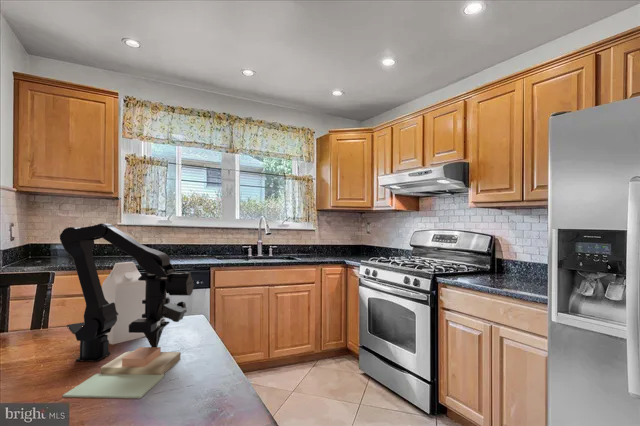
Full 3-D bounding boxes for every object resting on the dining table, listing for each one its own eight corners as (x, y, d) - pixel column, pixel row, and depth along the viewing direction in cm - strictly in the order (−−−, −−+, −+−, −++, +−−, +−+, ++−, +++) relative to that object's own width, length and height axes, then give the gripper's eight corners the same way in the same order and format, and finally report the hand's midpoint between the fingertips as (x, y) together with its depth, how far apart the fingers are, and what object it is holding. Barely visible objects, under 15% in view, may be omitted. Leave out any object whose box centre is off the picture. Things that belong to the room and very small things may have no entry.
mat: (62, 396, 81) (62, 395, 81) (96, 375, 93) (96, 373, 93) (140, 398, 81) (140, 396, 81) (164, 376, 92) (164, 375, 92)
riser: (100, 375, 93) (100, 367, 93) (126, 358, 105) (126, 351, 105) (161, 376, 93) (161, 368, 93) (180, 359, 105) (180, 352, 105)
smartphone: (65, 326, 138) (73, 335, 128) (65, 324, 139) (74, 332, 128) (87, 323, 144) (97, 331, 133) (87, 321, 144) (97, 328, 133)
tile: (121, 366, 94) (122, 358, 94) (140, 354, 103) (140, 347, 103) (144, 366, 94) (144, 358, 94) (160, 354, 103) (160, 347, 103)
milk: (131, 330, 134) (133, 260, 135) (147, 335, 127) (149, 262, 128) (96, 337, 124) (99, 262, 125) (112, 344, 117) (114, 265, 118)
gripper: (168, 302, 96) (167, 360, 96) (194, 290, 115) (193, 338, 115) (128, 301, 97) (126, 360, 96) (160, 289, 115) (159, 338, 115)
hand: (154, 348), depth 105 cm, fingers closed
